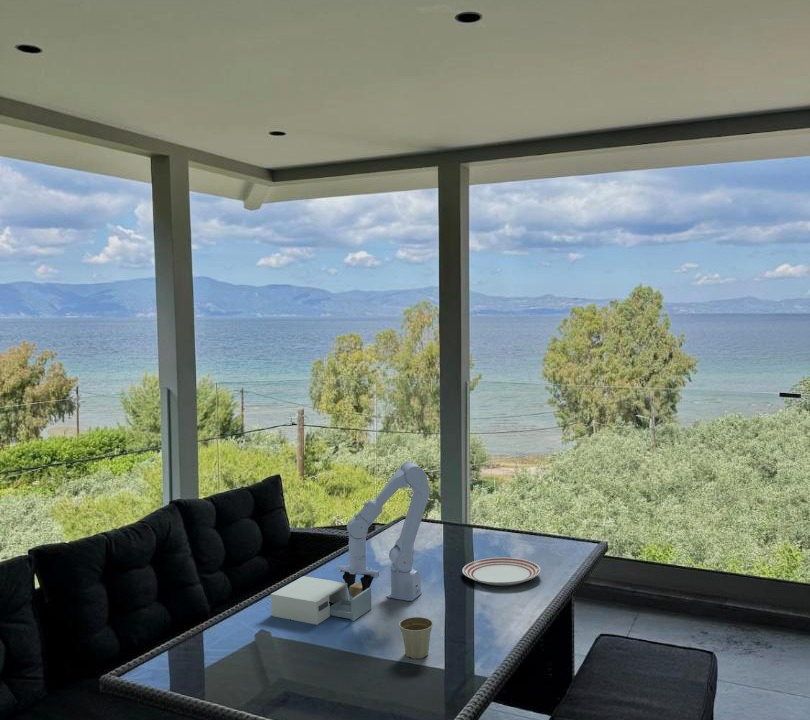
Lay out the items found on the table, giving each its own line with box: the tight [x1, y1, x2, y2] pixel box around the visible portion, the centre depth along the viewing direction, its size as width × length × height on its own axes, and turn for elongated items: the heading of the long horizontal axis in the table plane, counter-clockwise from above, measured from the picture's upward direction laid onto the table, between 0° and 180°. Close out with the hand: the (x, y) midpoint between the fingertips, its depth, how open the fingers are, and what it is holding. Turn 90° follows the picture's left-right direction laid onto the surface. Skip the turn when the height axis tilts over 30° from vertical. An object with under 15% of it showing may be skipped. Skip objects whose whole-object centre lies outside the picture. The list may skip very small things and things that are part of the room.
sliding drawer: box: [329, 587, 372, 622], centre depth 242 cm, size 10×11×7 cm
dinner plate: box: [461, 557, 542, 587], centre depth 272 cm, size 27×27×3 cm
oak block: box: [348, 581, 362, 601], centre depth 253 cm, size 4×4×5 cm
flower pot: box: [398, 616, 434, 660], centre depth 211 cm, size 9×9×9 cm
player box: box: [270, 575, 349, 626], centre depth 245 cm, size 17×18×7 cm
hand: (358, 596), depth 253 cm, fingers closed on oak block, 4 cm apart
